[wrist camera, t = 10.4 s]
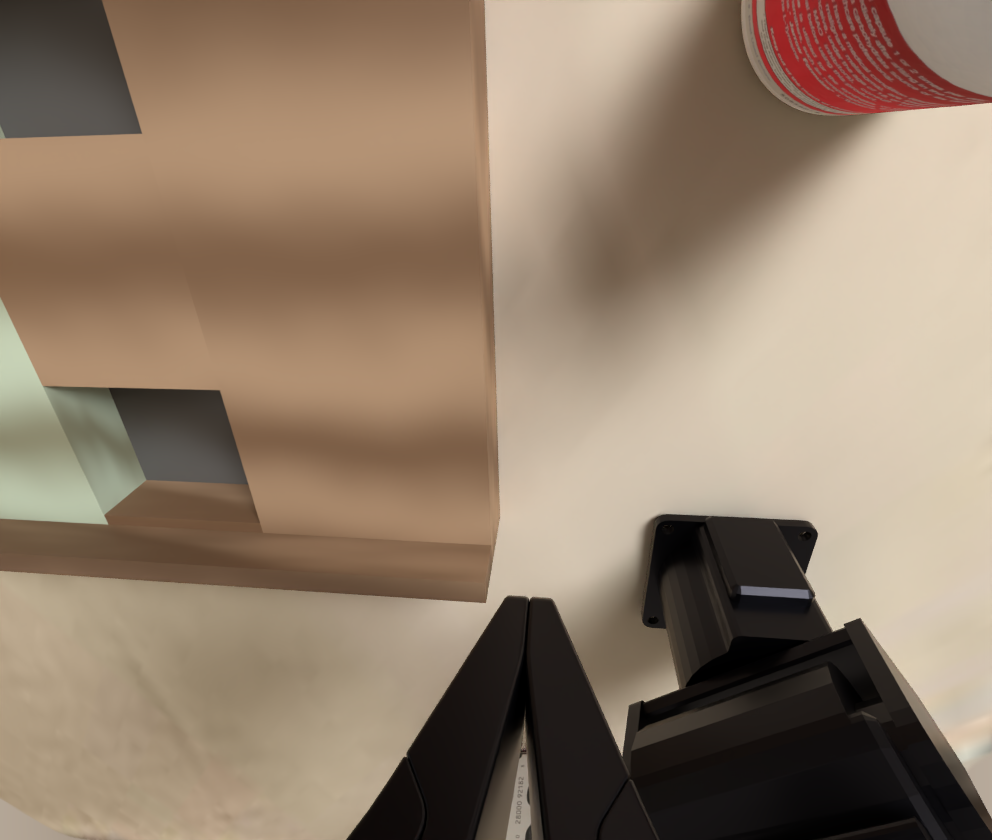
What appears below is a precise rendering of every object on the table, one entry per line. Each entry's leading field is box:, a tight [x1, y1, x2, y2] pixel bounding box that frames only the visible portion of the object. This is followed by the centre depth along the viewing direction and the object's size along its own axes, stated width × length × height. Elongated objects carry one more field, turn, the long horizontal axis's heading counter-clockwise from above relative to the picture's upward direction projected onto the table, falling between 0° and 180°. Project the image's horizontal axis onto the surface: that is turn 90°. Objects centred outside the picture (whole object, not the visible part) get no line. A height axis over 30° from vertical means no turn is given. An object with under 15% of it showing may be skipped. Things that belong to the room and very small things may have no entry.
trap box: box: [0, 0, 500, 603], centre depth 18 cm, size 23×25×5 cm
